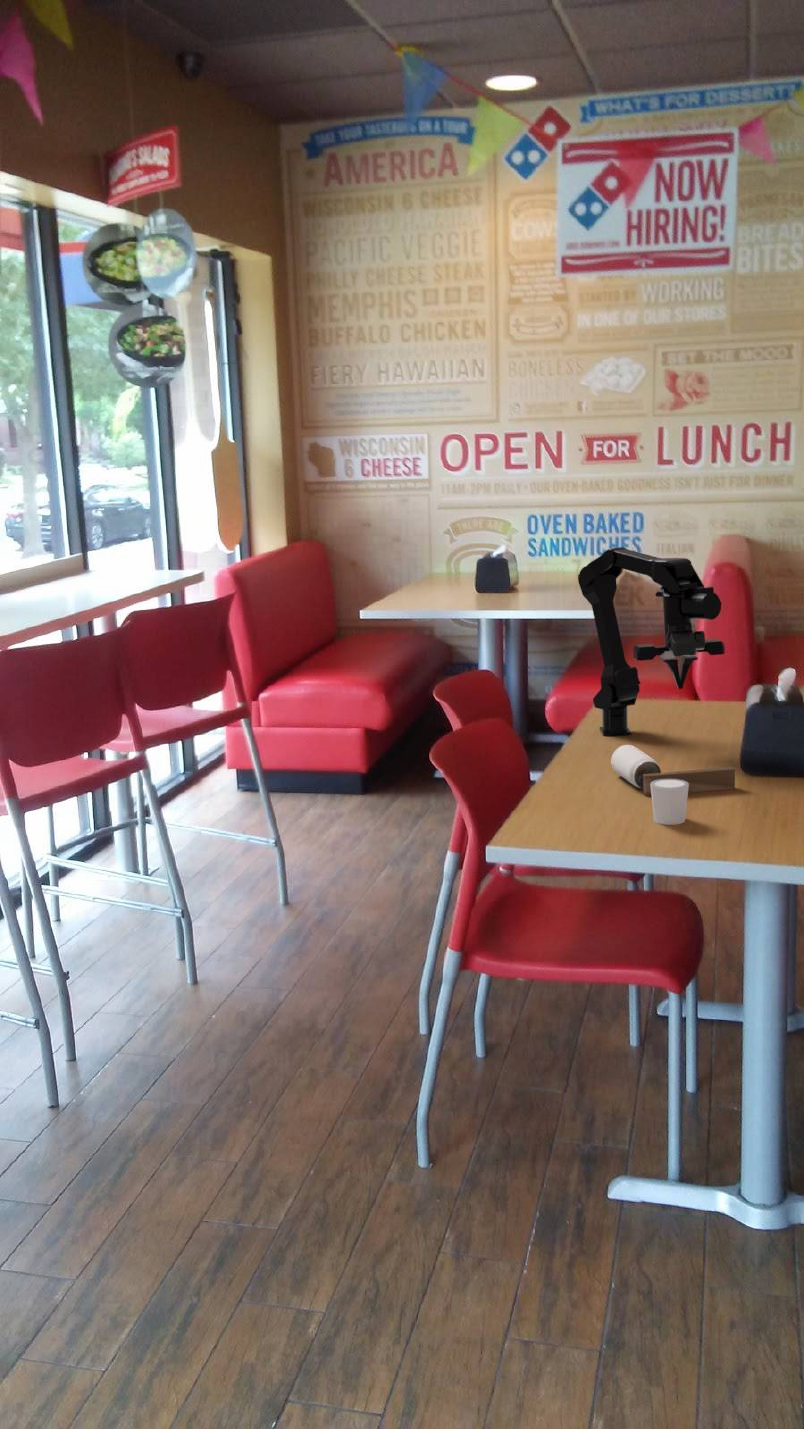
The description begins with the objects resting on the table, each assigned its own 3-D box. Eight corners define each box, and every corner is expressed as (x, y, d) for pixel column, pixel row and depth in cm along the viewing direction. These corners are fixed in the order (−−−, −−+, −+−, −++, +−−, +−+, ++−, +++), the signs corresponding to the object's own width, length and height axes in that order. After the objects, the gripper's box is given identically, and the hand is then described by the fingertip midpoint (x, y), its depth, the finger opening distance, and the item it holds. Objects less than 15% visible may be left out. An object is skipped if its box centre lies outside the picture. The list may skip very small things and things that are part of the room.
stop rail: (643, 793, 252) (643, 774, 251) (731, 786, 254) (731, 766, 253) (645, 796, 251) (645, 776, 250) (734, 788, 253) (735, 769, 252)
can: (604, 761, 264) (625, 777, 253) (625, 737, 264) (648, 752, 253) (624, 780, 266) (647, 797, 255) (646, 757, 266) (669, 773, 255)
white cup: (651, 825, 233) (651, 788, 231) (649, 814, 239) (649, 778, 238) (690, 825, 232) (690, 788, 230) (687, 814, 238) (687, 777, 237)
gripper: (639, 625, 270) (643, 698, 273) (729, 618, 270) (731, 691, 273) (631, 619, 281) (634, 689, 284) (717, 612, 281) (720, 683, 283)
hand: (680, 688), depth 281 cm, fingers closed
